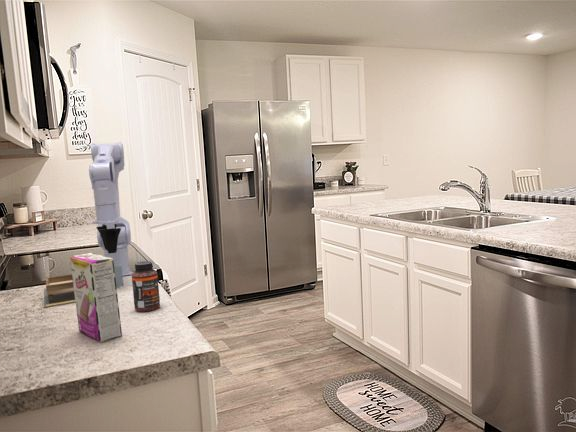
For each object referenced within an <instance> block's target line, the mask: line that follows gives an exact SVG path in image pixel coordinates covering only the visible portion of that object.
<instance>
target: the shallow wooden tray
mask: <svg viewBox="0 0 576 432" xmlns="http://www.w3.org/2000/svg"><path fill="white" fill-rule="evenodd" d="M45 289H46V290H47V295H48V299H49V302H53V294H56V293H63V292H69V291H74V287H73V280H72V273H71V274H65V275H59V276H58V275H57V276H52V277H51V276H50V277H46V278H45Z"/></svg>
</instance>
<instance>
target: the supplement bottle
mask: <svg viewBox="0 0 576 432" xmlns="http://www.w3.org/2000/svg"><path fill="white" fill-rule="evenodd" d="M134 269H135V270H134V271H133V272H132V273H133V274H132V275H131V283H132V284H131V285H132V295H133V305H134V309H135V311H137V312H143V313H144V312H151V311H155V310H157V309H159V307H160V306H161V303H160V300H161V299H160V286H159V277H158V272H157V271H156V270H155V269H154V268H153V261H151V260H143V261H142V260H141V261H137V262H136V263H135V262H134Z"/></svg>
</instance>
